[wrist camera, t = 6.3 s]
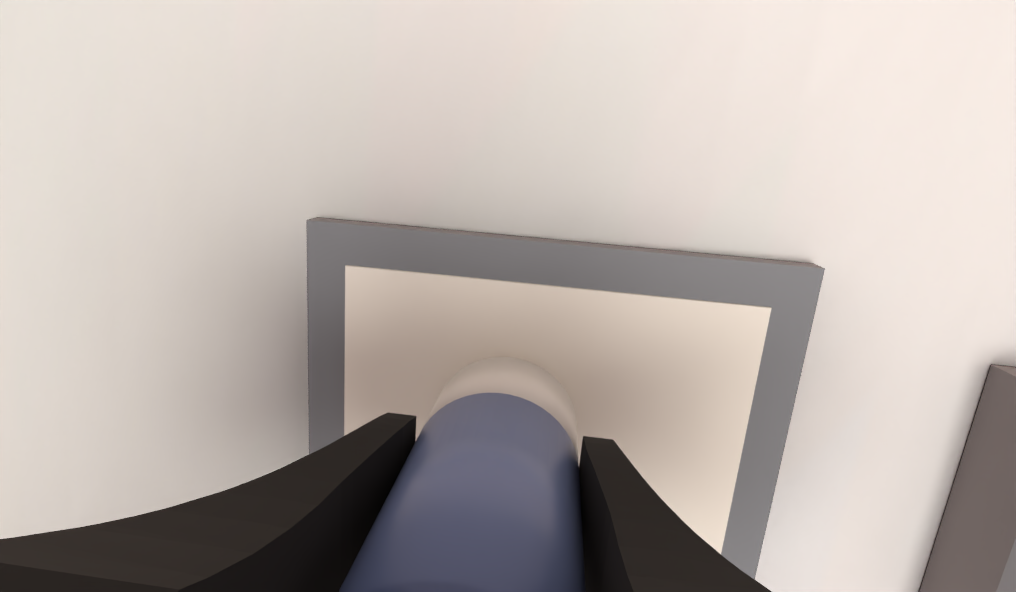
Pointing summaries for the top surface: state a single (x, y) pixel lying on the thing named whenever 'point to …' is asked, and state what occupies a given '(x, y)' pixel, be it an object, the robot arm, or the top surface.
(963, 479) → the button housing
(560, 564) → the marker
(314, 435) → the clipboard
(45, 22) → the top surface
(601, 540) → the robot arm
